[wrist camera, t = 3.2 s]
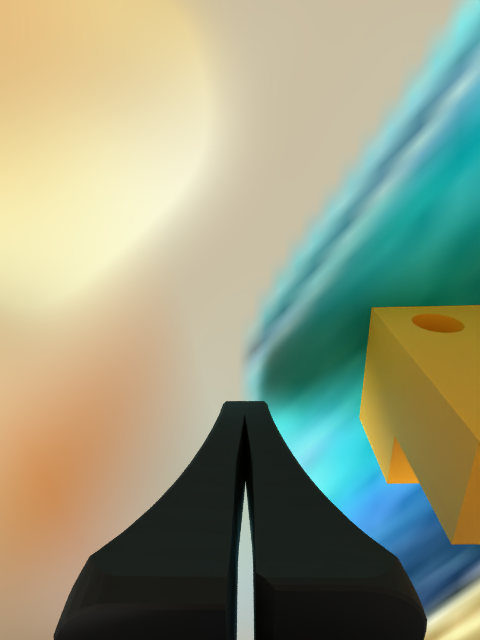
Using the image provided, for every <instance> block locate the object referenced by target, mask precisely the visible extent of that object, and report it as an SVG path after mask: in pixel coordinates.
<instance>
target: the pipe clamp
mask: <svg viewBox="0 0 480 640" xmlns="http://www.w3.org/2000/svg"><path fill="white" fill-rule="evenodd" d="M359 418H360V421H361V423H362V425H363V428H364V430H365V432H366V435H367V437H368V439H369V442H370V444H371V446H372V449H373V451H374V454H375V456H376V458H377V461H378V463H379V465H380V468H381V470H382V472H383V475H384V477H385V480H386V482H387V484H390V483H420V485H421V487H422V489H423V491H424V492H425V494H426V496H427V498H428V500H429V502H430V504H431V506H432V508H433V510H434V512H435V513H436V515H437V517H438V519H439V521H440V523H441V525H442V527H443V529H444V531H445V533H446V535H447V536H448V538H449V540H450V542H451V544H480V305H459V306H413V307H372V309H371V318H370V327H369V336H368V345H367V354H366V363H365V372H364V381H363V390H362V399H361V408H360V417H359Z"/></svg>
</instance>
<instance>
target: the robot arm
mask: <svg viewBox="0 0 480 640" xmlns="http://www.w3.org/2000/svg"><path fill="white" fill-rule="evenodd" d="M245 482H246V489H247V498H248V510H249V520H250V530H251V540H252V552H253V587H254V640H424V637H425V633H426V627H427V618H426V616H425V613H424V610H423V607H422V604H421V601H420V599H419V597H418V595H417V593H416V591H415V589H414V587H413V585H412V583H411V581H410V579H409V577H408V575H407V573H406V572H405V570H404V568H403V566H402V564H401V563H400V561H399V559H398V558H397V557H396V556H395V555H393V554H392V553H391V552H389V551H388V550H387V549H385V548H384V547H383V546H381V545H380V544H378V543H377V542H376V541H374V540H373V539H372V538H370V537H369V536H368V535H366V534H365V533H364V532H363V531H362V530H361V529H359V528H358V527H357V526H356V525H355V524H354V523H352V522H351V521H350V520H349V519H348V518H347V517H346V516H345V515H344V514H343V513H342V512H341V511H340V510H339V509H338V508H337V507H336V506H335V505H334V504H333V503H332V502H331V501H330V500H329V499H328V498H327V497H326V496H325V495H324V494H323V493H322V492H321V490H320V489H319V488H318V487H317V486H316V485H315V483H314V482H313V481H312V480H311V479H310V477H309V476H308V475H307V474H306V472H305V471H304V470H303V468H302V467H301V466H300V464H299V463H298V461H297V460H296V459H295V457H294V456H293V454H292V453H291V451H290V449H289V448H288V446H287V445H286V443H285V441H284V440H283V438H282V436H281V434H280V433H279V431H278V429H277V427H276V425H275V423H274V421H273V419H272V416H271V414H270V411H269V409H268V405H267V404H266V403H265V402H264V401H226V402H225V403H224V404H223V406H222V409H221V412H220V414H219V416H218V418H217V420H216V422H215V424H214V426H213V428H212V430H211V432H210V433H209V435H208V437H207V438H206V440H205V442H204V444H203V445H202V447H201V448H200V450H199V451H198V453H197V454H196V455H195V457H194V458H193V460H192V461H191V463H190V464H189V465H188V467H187V468H186V469H185V470H184V472H183V473H182V474H181V476H180V477H179V478H178V479H177V480H176V482H175V483H174V484H173V485H172V486H171V487H170V488H169V489H168V490H167V491H166V492H165V494H164V495H163V496H162V497H161V498H160V499H159V500H158V501H157V502H156V503H155V504H154V505H153V506H152V507H151V508H150V509H149V510H148V511H147V512H145V513H144V514H143V515H142V516H141V517H140V518H139V519H138V520H136V521H135V522H134V523H133V524H132V525H131V526H130V527H128V528H127V529H126V530H125V531H124V532H123V533H121V534H120V535H119V536H117V537H116V538H114V539H113V540H112V541H110V542H109V543H108V544H106V545H105V546H104V547H102V548H101V549H100V550H98V551H97V552H95V553H94V554H92V555H91V556H90V557H89V559H88V560H87V562H86V564H85V566H84V567H83V569H82V571H81V573H80V575H79V577H78V578H77V580H76V582H75V584H74V586H73V588H72V590H71V592H70V594H69V596H68V599H67V602H66V604H65V607H64V609H63V612H62V614H61V617H60V619H59V622H58V625H57V627H56V631H55V633H54V640H237V583H238V553H239V552H238V551H239V541H240V531H241V522H242V512H243V502H244V492H245Z"/></svg>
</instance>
